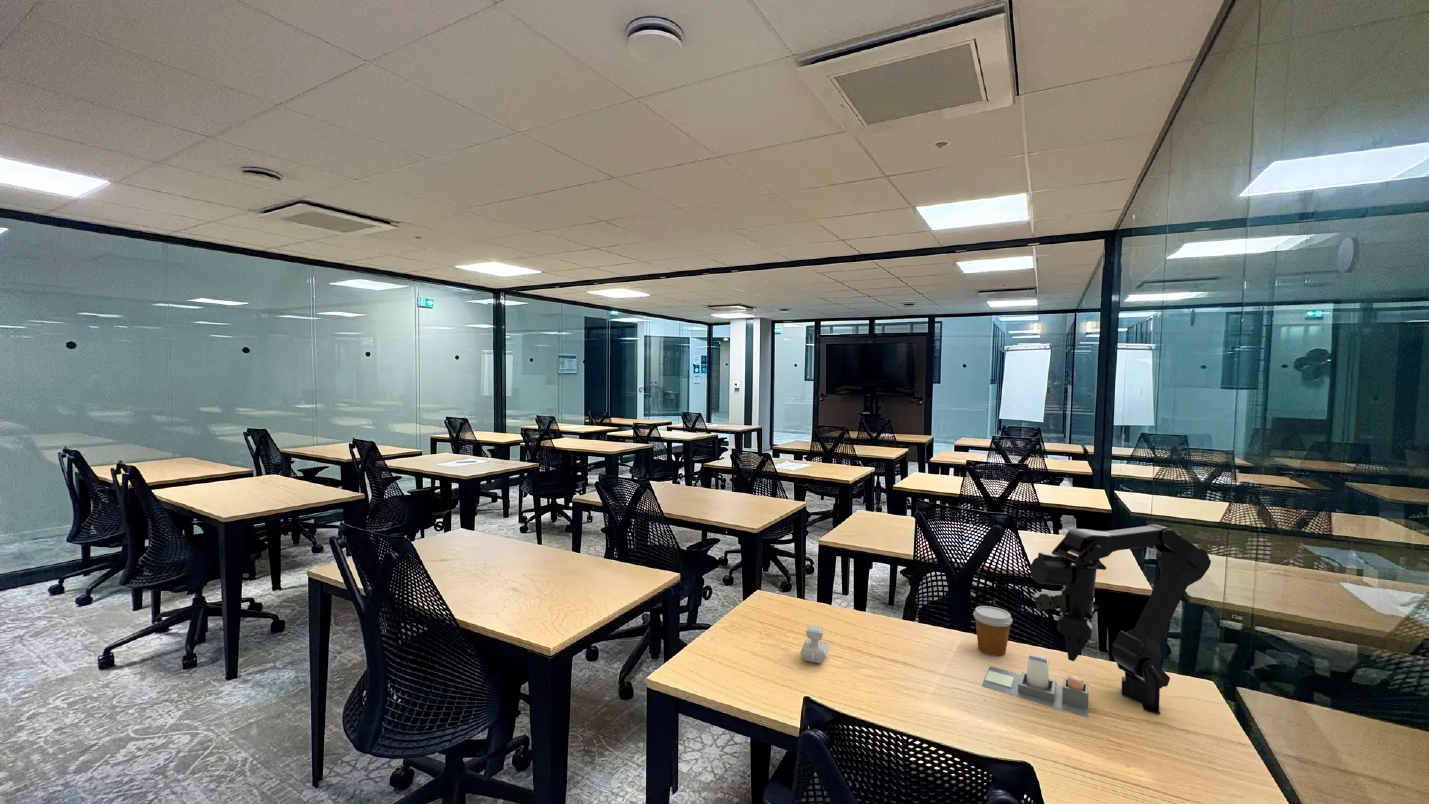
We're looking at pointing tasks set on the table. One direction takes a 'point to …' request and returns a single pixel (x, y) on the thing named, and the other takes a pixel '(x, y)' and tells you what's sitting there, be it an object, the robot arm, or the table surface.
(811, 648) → the stamp
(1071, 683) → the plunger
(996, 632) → the disposable coffee cup
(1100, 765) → the table surface
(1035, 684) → the cartridge
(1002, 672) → the housing
